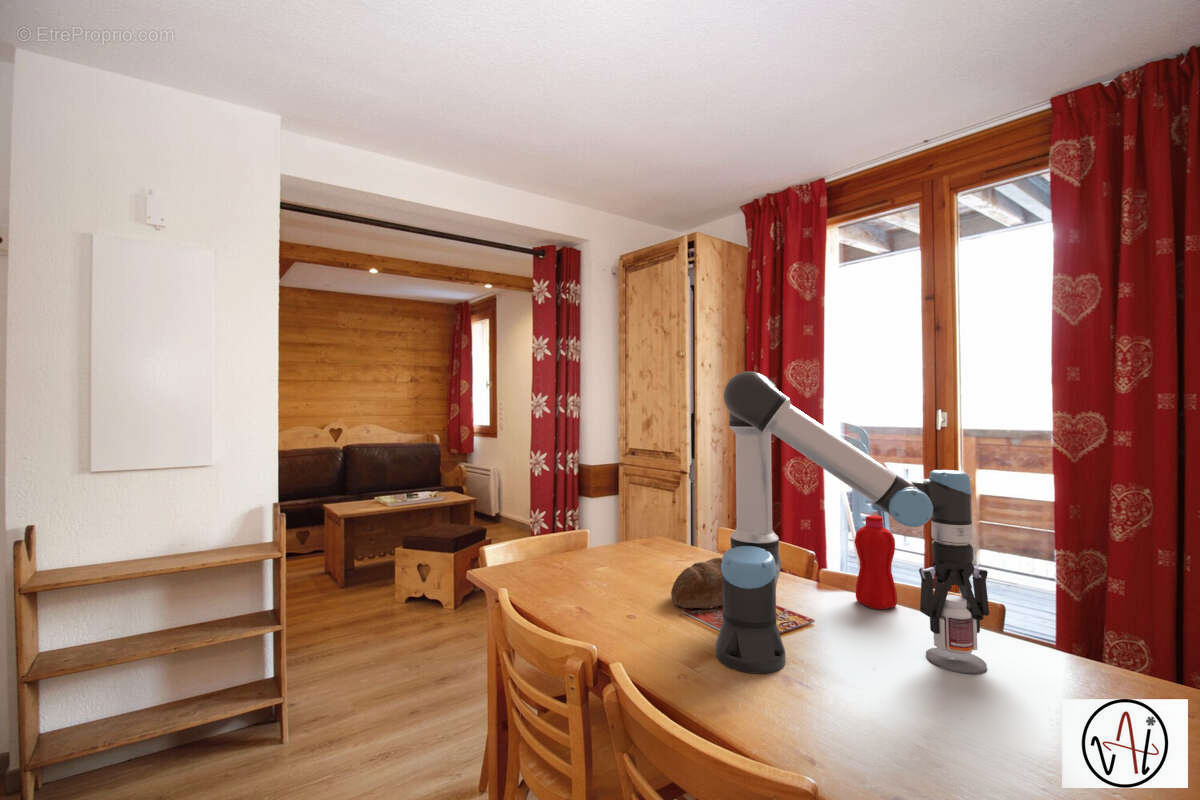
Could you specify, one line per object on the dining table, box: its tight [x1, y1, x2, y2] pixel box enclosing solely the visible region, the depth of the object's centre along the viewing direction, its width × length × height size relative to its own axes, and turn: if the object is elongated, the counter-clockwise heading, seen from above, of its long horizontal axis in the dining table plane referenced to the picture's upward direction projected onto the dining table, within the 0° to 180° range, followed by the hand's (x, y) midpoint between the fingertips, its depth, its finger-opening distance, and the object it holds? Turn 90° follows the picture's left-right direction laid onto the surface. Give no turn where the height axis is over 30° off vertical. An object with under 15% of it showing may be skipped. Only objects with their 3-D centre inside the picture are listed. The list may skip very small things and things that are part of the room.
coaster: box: [925, 647, 988, 675], centre depth 115 cm, size 11×11×1 cm
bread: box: [670, 557, 723, 609], centre depth 157 cm, size 16×29×11 cm, turn 123°
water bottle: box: [854, 514, 898, 611], centre depth 151 cm, size 9×11×25 cm
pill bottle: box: [941, 594, 974, 654], centre depth 115 cm, size 6×6×11 cm
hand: (955, 647), depth 115 cm, fingers closed on pill bottle, 6 cm apart
